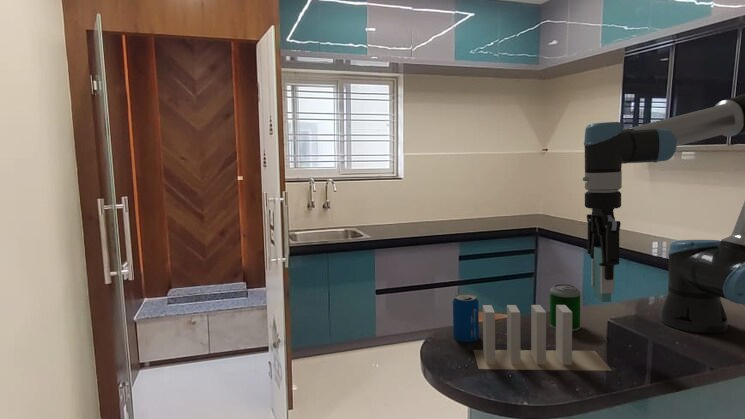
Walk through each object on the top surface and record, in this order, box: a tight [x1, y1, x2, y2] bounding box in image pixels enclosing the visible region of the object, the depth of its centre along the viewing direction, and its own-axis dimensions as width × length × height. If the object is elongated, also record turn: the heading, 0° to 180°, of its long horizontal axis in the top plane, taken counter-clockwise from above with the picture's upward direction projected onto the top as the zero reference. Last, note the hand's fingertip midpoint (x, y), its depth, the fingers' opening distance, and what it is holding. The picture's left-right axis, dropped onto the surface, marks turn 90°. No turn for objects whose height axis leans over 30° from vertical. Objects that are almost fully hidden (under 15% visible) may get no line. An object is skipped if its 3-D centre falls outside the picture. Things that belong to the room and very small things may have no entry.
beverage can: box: [452, 292, 480, 343], centre depth 117 cm, size 6×6×12 cm
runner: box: [473, 349, 613, 372], centre depth 103 cm, size 28×10×1 cm, turn 84°
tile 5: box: [482, 304, 496, 364], centre depth 104 cm, size 2×5×12 cm, turn 174°
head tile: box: [593, 246, 612, 303], centre depth 106 cm, size 2×5×12 cm, turn 174°
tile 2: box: [555, 305, 573, 365], centre depth 102 cm, size 2×5×12 cm, turn 174°
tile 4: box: [506, 304, 521, 364], centre depth 103 cm, size 2×5×12 cm, turn 174°
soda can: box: [549, 283, 581, 332], centre depth 122 cm, size 8×8×12 cm
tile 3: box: [530, 304, 547, 365], centre depth 103 cm, size 2×5×12 cm, turn 174°
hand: (602, 288), depth 107 cm, fingers closed on head tile, 5 cm apart
